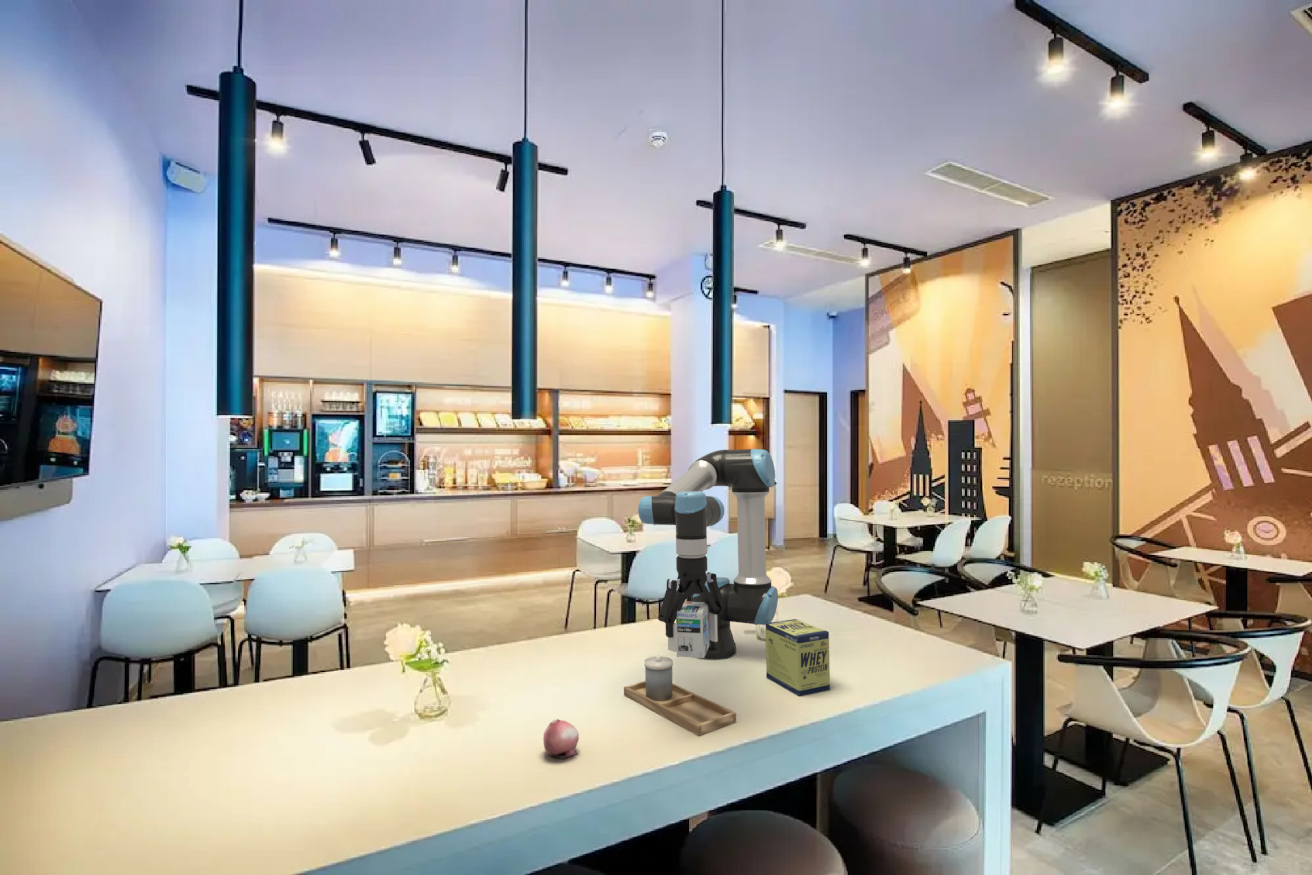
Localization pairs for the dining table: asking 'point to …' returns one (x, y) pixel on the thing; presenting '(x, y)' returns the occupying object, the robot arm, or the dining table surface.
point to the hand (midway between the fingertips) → (693, 645)
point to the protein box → (797, 656)
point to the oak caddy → (684, 709)
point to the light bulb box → (693, 630)
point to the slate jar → (658, 678)
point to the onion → (560, 739)
